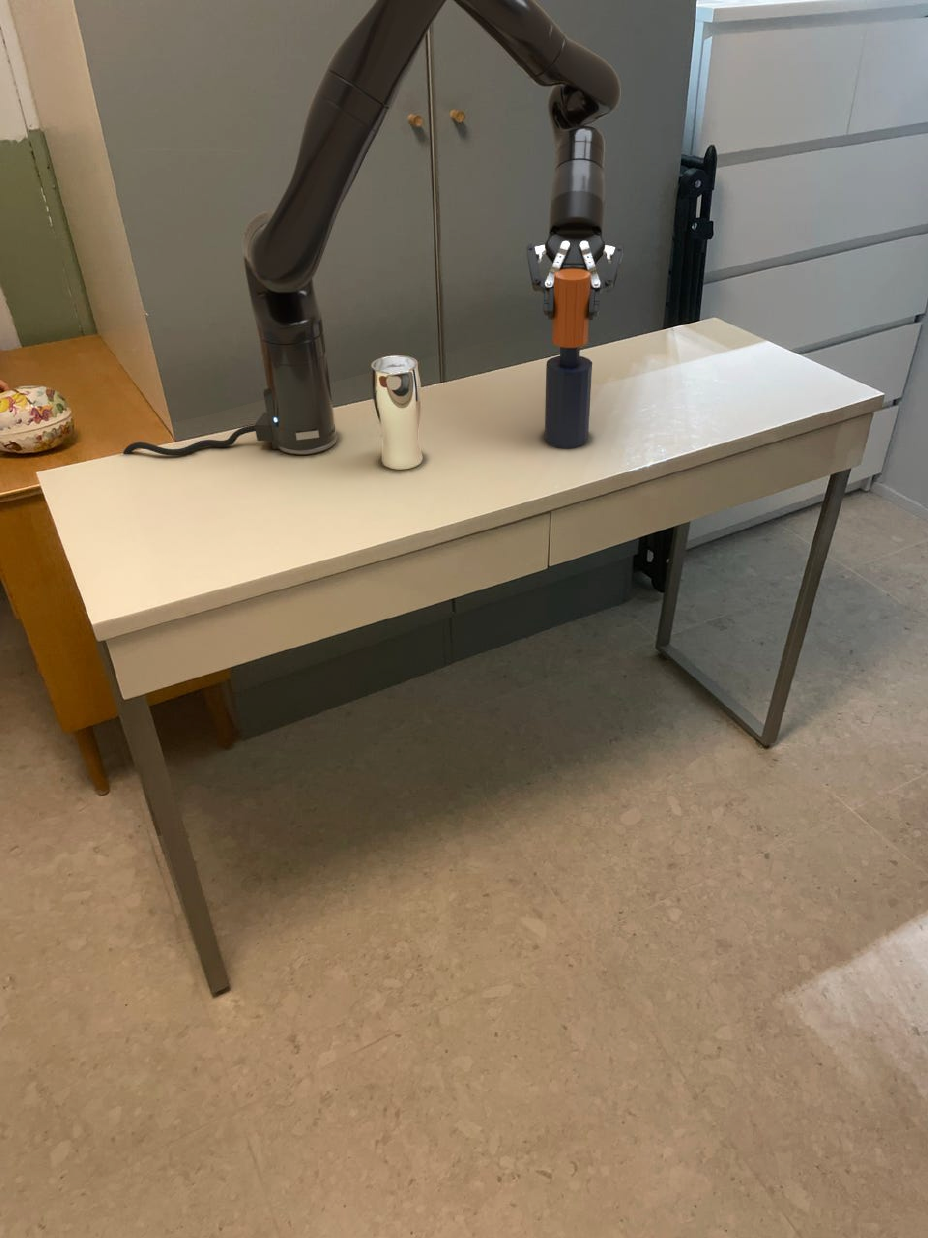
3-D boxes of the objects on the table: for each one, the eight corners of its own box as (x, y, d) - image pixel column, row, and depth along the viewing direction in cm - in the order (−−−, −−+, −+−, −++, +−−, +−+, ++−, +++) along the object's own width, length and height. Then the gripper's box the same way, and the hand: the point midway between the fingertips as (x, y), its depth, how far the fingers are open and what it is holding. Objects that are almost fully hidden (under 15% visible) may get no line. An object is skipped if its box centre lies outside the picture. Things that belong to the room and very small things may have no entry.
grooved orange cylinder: (551, 347, 132) (553, 279, 127) (553, 334, 136) (555, 268, 131) (587, 348, 132) (590, 279, 126) (588, 335, 136) (591, 268, 130)
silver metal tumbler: (419, 473, 136) (412, 374, 127) (373, 469, 137) (363, 372, 128) (430, 451, 141) (424, 355, 132) (385, 448, 142) (377, 353, 133)
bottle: (543, 447, 141) (546, 341, 131) (546, 428, 146) (548, 324, 136) (587, 448, 140) (593, 341, 130) (588, 429, 146) (594, 325, 136)
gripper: (525, 188, 129) (518, 304, 127) (630, 188, 128) (624, 305, 126) (528, 218, 137) (521, 328, 135) (627, 218, 135) (621, 330, 133)
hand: (570, 317), depth 130 cm, fingers closed on grooved orange cylinder, 5 cm apart
